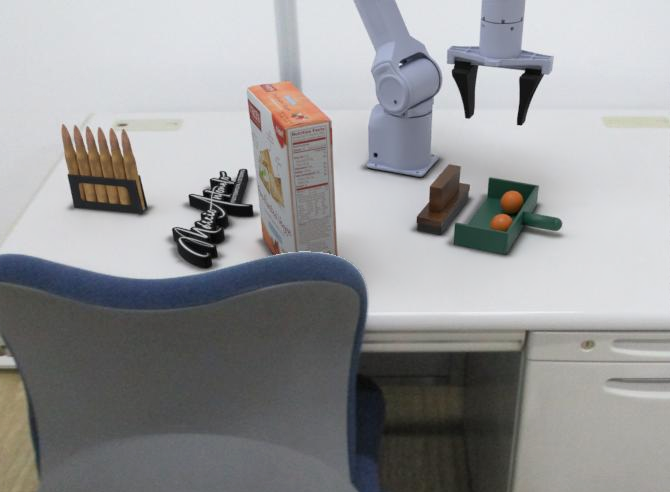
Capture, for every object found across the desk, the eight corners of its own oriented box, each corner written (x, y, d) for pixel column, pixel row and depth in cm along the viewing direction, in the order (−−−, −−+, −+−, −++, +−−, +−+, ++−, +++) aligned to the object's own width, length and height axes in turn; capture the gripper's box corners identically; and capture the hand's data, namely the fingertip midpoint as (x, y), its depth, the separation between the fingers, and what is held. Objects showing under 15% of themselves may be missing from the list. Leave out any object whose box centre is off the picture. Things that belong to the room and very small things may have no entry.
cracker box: (260, 241, 113) (243, 85, 100) (301, 233, 115) (291, 78, 101) (295, 291, 103) (282, 125, 90) (340, 281, 105) (334, 116, 92)
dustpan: (453, 244, 112) (454, 223, 110) (487, 196, 124) (489, 176, 122) (546, 262, 109) (549, 241, 107) (573, 211, 120) (576, 191, 118)
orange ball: (519, 219, 118) (497, 215, 119) (525, 209, 120) (503, 206, 121) (520, 197, 116) (498, 194, 117) (526, 188, 118) (505, 185, 119)
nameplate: (237, 257, 106) (159, 257, 106) (239, 268, 107) (161, 268, 107) (262, 168, 127) (197, 168, 128) (263, 178, 128) (198, 177, 129)
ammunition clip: (148, 208, 120) (132, 127, 113) (142, 214, 119) (126, 132, 111) (79, 201, 122) (59, 121, 114) (73, 207, 121) (53, 126, 113)
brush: (416, 231, 115) (417, 191, 112) (446, 194, 124) (448, 156, 121) (440, 235, 114) (442, 196, 110) (469, 198, 123) (471, 160, 119)
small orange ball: (495, 245, 113) (482, 226, 112) (501, 235, 115) (489, 216, 114) (514, 236, 111) (502, 216, 110) (521, 225, 113) (508, 206, 112)
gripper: (440, 20, 110) (437, 122, 119) (548, 31, 106) (537, 136, 114) (457, 8, 115) (453, 106, 124) (561, 17, 111) (550, 118, 119)
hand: (495, 119), depth 119 cm, fingers open, 7 cm apart
